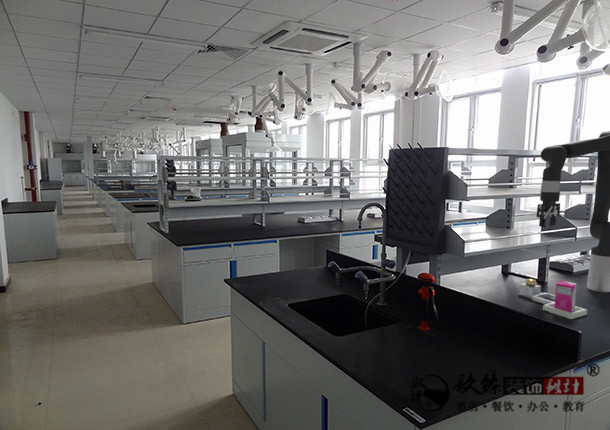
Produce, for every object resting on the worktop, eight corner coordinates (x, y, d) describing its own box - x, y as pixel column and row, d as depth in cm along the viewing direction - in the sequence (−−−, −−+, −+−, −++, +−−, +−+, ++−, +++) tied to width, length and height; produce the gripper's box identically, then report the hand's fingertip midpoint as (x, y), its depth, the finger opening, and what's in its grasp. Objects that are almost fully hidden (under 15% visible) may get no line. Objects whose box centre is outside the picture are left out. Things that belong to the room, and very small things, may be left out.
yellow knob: (528, 292, 184) (529, 278, 183) (536, 294, 181) (538, 280, 180) (522, 293, 182) (524, 279, 182) (531, 295, 179) (532, 281, 178)
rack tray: (558, 305, 169) (558, 301, 169) (586, 314, 160) (587, 309, 159) (542, 309, 164) (543, 304, 164) (571, 319, 154) (571, 314, 154)
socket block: (529, 292, 187) (530, 281, 186) (568, 303, 172) (569, 292, 171) (516, 295, 182) (517, 284, 181) (554, 307, 167) (555, 295, 167)
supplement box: (558, 307, 166) (561, 280, 164) (574, 311, 161) (577, 283, 160) (553, 310, 162) (556, 282, 160) (570, 314, 158) (573, 286, 156)
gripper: (550, 189, 189) (547, 223, 191) (532, 190, 182) (530, 226, 184) (567, 190, 182) (564, 226, 184) (549, 191, 175) (546, 228, 177)
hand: (547, 226), depth 184 cm, fingers open, 8 cm apart
